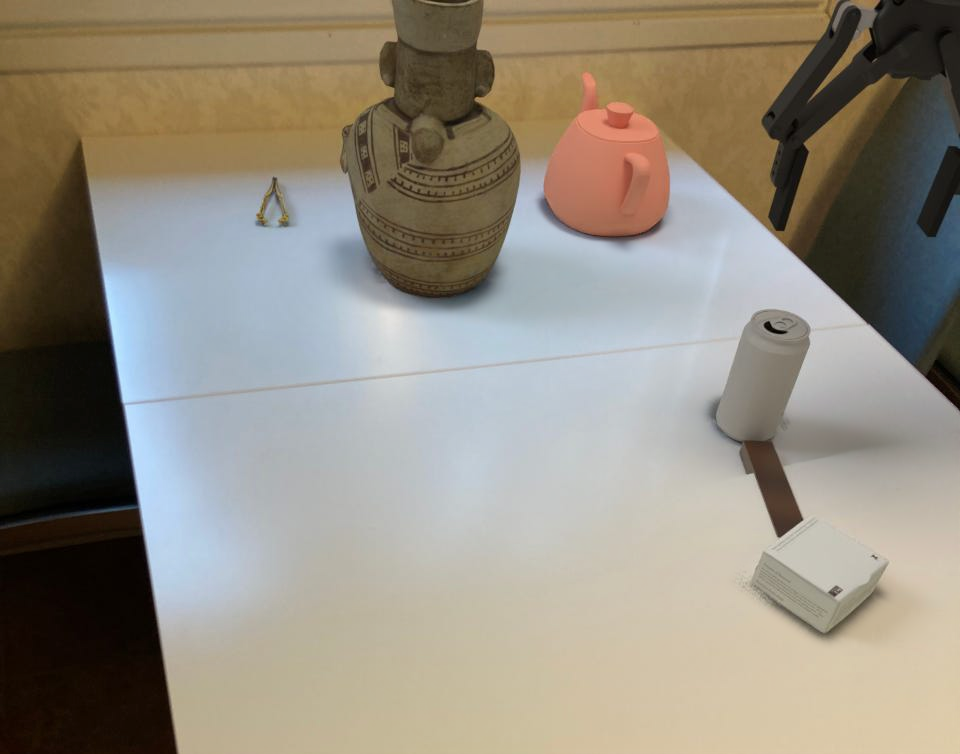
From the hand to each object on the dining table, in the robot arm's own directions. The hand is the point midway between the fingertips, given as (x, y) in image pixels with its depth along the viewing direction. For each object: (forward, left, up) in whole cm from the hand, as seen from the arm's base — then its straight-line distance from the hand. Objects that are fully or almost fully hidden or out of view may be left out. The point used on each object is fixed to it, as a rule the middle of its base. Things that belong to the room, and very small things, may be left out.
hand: (851, 227), depth 81 cm
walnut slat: (-10, +7, -21) cm, 24 cm away
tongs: (+61, +38, -21) cm, 75 cm away
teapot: (+50, -5, -21) cm, 55 cm away
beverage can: (+1, +3, -21) cm, 22 cm away
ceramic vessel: (+39, +24, -21) cm, 51 cm away
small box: (-22, +12, -21) cm, 33 cm away
